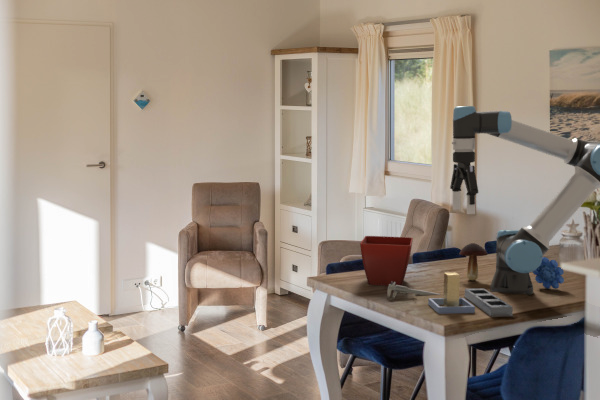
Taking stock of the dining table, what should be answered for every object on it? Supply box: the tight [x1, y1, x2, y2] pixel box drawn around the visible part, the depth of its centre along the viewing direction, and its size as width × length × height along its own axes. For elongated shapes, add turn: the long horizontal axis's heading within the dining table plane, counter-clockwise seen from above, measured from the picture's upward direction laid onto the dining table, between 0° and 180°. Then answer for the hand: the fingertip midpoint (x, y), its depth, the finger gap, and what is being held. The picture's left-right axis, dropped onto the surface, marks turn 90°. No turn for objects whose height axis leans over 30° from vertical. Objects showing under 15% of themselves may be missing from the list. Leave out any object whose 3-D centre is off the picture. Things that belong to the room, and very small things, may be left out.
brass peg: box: [442, 272, 461, 307], centre depth 232 cm, size 4×4×12 cm
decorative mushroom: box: [458, 242, 488, 281], centre depth 279 cm, size 11×11×15 cm
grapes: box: [531, 256, 565, 290], centre depth 264 cm, size 12×7×12 cm, turn 62°
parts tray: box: [427, 297, 476, 315], centre depth 232 cm, size 12×12×3 cm
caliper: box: [386, 281, 441, 299], centre depth 251 cm, size 20×1×6 cm, turn 95°
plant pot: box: [359, 235, 413, 287], centre depth 275 cm, size 19×19×17 cm
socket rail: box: [464, 287, 514, 318], centre depth 235 cm, size 26×7×4 cm, turn 5°
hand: (463, 211), depth 246 cm, fingers open, 13 cm apart
